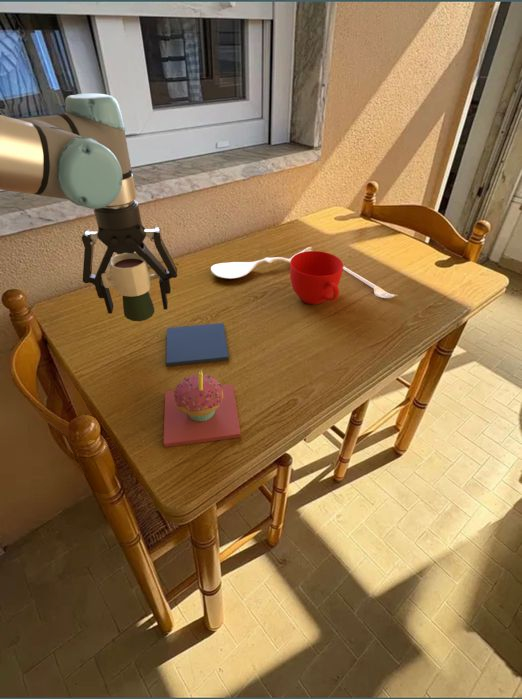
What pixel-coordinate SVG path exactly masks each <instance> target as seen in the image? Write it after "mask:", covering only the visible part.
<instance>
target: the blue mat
mask: <svg viewBox="0 0 522 699" xmlns="http://www.w3.org/2000/svg"><path fill="white" fill-rule="evenodd" d="M165 352H166V354H165V365H166V367H174V366H184V365H193V364H194V365H195V364H196V365H197V364H205V363H215V362H216V363H217V362H223V361H229V360H230V355H229V349H228V342H227V336H226V330H225V323H224V322H218V323H209V324H208V323H207V324H196V325H195V324H194V325H184V326H183V325H182V326H175V327H174V326H172V327H167V328H166V351H165Z"/></svg>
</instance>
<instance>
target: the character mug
mask: <svg viewBox="0 0 522 699" xmlns="http://www.w3.org/2000/svg"><path fill="white" fill-rule="evenodd" d="M108 266H109V269H110V271H105V273H103V274H102V275H101V277H102V281H103V284H104V286H105V288H109V289H110V288H115V290H116V291H117V292H118V294H119V295H121V296H122V306H123V307H122V308H123V316H124V317H125V318H126V319H127V320H130V321H132V322H143V321H147V320H149V319H150V318H152V317H153V315H154V314H155V306H154V303H153V300H152V296H151V295H150V292H149V291H150V289H151V288H152V280H156V279H159V275H158V274H157V273H156V272H155V271H154V270H153V269H152V268H151V267H150V266H149V265H148V264H147V262H146V261H145V260H144V259H143V258H142V257H140V256H139V255H138V254H137V253H136V252H134V253H131V254H130V253H123V254H117V253H116V254H115V255H112V258H111V259H110V262H109V264H108ZM150 270H153V274H151V273H150ZM110 277H111V278H112V282H109V279H108V278H110Z"/></svg>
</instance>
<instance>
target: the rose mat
mask: <svg viewBox="0 0 522 699" xmlns="http://www.w3.org/2000/svg"><path fill="white" fill-rule="evenodd" d="M220 385H221V386H222V390H223V400H222V402H221V403H220V405H219V407H218V408H217V409H216V410H215V413H214V415H213V416H212V417H211V418H210V419H208V420H206V421H195V420H193V419H192V418H190V416H189V415H188V414H186V413H184V412H182V411H180V410H178V409H177V406H176V403H175V400H174V391H175V390H169V391H164V413H163V414H164V417H163V420H164V421H163V447H164V448H169V447H176V446H185V445H193V444H200V443H207V442H215V441H222V440H231V439H238V438H241V437H242V435H241V428H240V422H239V421H240V420H239V414H238V408H237V402H236V396H235V390H234V389H235V388H234V384H233V383H230V384H220Z"/></svg>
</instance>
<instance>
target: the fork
mask: <svg viewBox="0 0 522 699" xmlns="http://www.w3.org/2000/svg"><path fill="white" fill-rule="evenodd" d="M343 270H344V271H345V272H347V273H348V274H350V275H351V276H353V277H355V278H356V279H357V280H359V281H361V282H362V283H364V284H366V285H367V286H369V287H371V289H373V294H374V295H375V296H376V297H378V298H382V299H392V298H395V297H396V296H397V294H393V293H390V292H387V291H386V290H384V289H383V288H381V287H380V286H378V285H376V284H374V283H373V282H371V281H369V280H368V279H366V278H364V276H363V277H362V276H361V275H359V274H357V273H356V272H354V271H353V270H351V269H350V268H348V267H346V266H343Z"/></svg>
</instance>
